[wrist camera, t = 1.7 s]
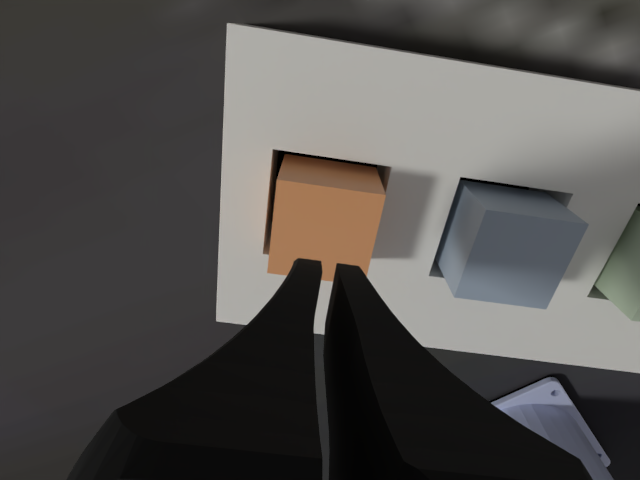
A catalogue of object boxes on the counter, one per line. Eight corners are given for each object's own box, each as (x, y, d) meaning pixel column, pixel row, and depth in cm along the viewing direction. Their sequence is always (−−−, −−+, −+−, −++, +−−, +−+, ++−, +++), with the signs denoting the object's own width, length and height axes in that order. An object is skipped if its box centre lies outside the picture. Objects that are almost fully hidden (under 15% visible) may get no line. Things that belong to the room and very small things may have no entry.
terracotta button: (375, 167, 16) (385, 195, 13) (358, 246, 18) (364, 285, 15) (284, 153, 16) (276, 179, 13) (275, 235, 17) (267, 273, 15)
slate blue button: (546, 192, 16) (588, 224, 14) (513, 267, 18) (546, 309, 15) (459, 179, 16) (486, 209, 14) (434, 257, 18) (453, 297, 15)
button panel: (777, 112, 17) (861, 127, 14) (632, 335, 22) (673, 377, 20) (243, 23, 16) (227, 23, 13) (229, 283, 21) (216, 321, 18)
